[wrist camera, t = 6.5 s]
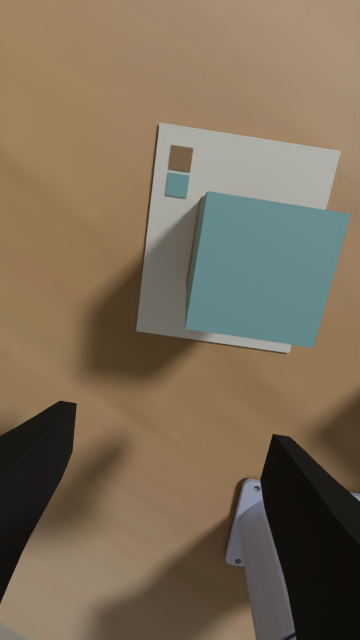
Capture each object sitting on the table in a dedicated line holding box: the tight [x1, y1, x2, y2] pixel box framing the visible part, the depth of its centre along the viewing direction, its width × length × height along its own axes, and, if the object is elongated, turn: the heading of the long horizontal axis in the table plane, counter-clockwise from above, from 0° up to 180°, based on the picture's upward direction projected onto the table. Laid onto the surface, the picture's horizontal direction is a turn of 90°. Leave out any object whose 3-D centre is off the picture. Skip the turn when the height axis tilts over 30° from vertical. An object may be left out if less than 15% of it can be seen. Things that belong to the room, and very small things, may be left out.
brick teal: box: [185, 191, 351, 348], centre depth 14 cm, size 5×5×5 cm
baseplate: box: [136, 123, 341, 353], centre depth 20 cm, size 10×12×1 cm
